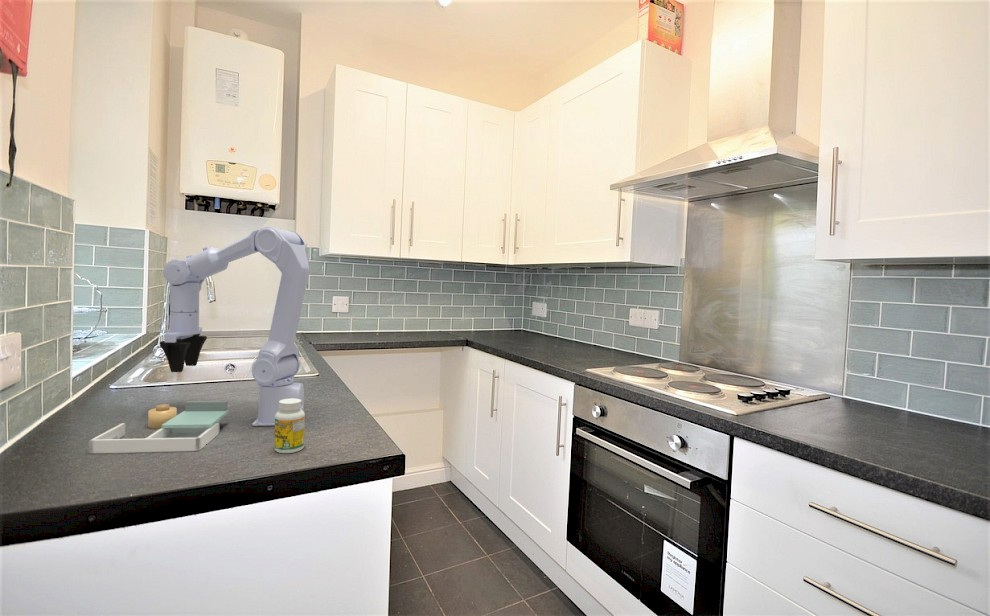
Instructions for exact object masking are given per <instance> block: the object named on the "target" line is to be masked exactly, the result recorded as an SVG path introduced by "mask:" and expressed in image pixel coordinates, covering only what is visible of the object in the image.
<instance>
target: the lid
mask: <svg viewBox="0 0 990 616" xmlns="http://www.w3.org/2000/svg"><path fill="white" fill-rule="evenodd" d="M184 403H185V404H184V405H185V407H184V408H185V410H183V411H182V412H180V413H177V416H175V417H174V418H172V419H170V420H169V421H167V422H166V423H164V424H162V428H195V427H212V426H213V425H214V424H215V423H217V422H220V420H222V419H223V418H224V417H226V416H227V415H228V414H229V413H230V410H229V409H228V400H199V401H198V400H187V401H185V402H184Z"/></svg>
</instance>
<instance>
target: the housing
mask: <svg viewBox="0 0 990 616" xmlns="http://www.w3.org/2000/svg"><path fill="white" fill-rule="evenodd" d="M220 424H221V422H220V421H218V422H217V423H215V424H214V425H213V426H212V427H195V428H161V429H157V430H156V431H154V432H153V433H151V434H150V435H149V436H147V437H145V438H122V437H124V436H126V423H125V422H124V423H122V422H121V423H120V424H118V425H116V426H114V427H112V428H110V429H108V430H106V431H105V432H103V433H101V434H99V435H97V436H95V437H93V438H92V439H89V441H88V454H121V453H122V454H125V453H126V454H128V453H129V454H130V453H164V452H166V453H167V452H170V453H171V452H173V453H174V452H175V453H176V452H200V451H201V450H203V448H204V447H206V446H207V445H208V444H209V443H210V442H211V441H212V440H213V439H215V438H216V437H218V436H219V434H220V428H221V427H220V426H221V425H220ZM206 444H207V445H206Z"/></svg>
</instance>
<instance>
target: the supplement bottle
mask: <svg viewBox="0 0 990 616" xmlns="http://www.w3.org/2000/svg"><path fill="white" fill-rule="evenodd" d="M300 408H301V400H300V399H295V398H290V399H283V400H280V401H279V409H280V411H278V412H277V413H276V415H275V425H274V451H275V452H277V453H280V454H293V453H297V452H299V451H302V450H303V449H304V448H305V441H306V440H305V437H306V436H305V435H306V434H305V432H306V430H305V429H306V427H305V425H306V413H305V410H304V411H303V410H301V409H300Z"/></svg>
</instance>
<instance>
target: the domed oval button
mask: <svg viewBox="0 0 990 616" xmlns="http://www.w3.org/2000/svg"><path fill="white" fill-rule="evenodd" d="M177 412H178V407H175V406H170V404H169V403H160V404H157V405H155V407H154V408H151V409H149V410H148V411H147V414H148V417H147V418H148V419H147V422H148V423H147V427H148V429H149V430H159V429H161V428H162V424H164V423H166V422H167V421H169V420H170V419H172V418H174V417H175V416H177V415H178V413H177Z"/></svg>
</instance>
